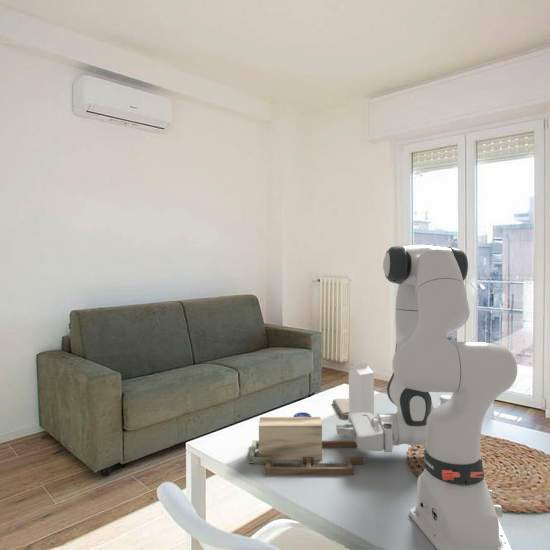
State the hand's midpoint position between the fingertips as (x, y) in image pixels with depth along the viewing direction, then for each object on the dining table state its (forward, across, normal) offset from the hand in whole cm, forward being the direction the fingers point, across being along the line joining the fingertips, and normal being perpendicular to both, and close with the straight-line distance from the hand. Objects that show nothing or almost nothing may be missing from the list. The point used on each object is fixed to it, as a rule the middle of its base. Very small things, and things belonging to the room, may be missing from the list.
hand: (336, 429), depth 132 cm
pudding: (+9, -19, +8) cm, 23 cm away
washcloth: (-10, -38, +8) cm, 40 cm away
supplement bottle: (-37, -13, +8) cm, 40 cm away
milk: (-11, -21, +8) cm, 25 cm away
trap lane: (+9, +3, +7) cm, 12 cm away
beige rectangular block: (+14, 0, +8) cm, 16 cm away
